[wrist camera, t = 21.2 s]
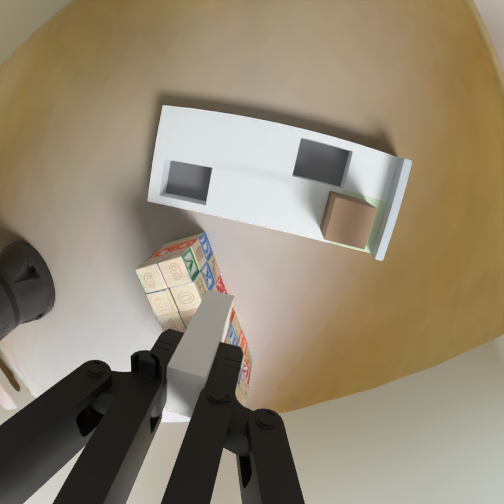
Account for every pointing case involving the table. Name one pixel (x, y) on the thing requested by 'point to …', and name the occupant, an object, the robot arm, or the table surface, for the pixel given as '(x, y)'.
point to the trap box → (270, 173)
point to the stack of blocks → (189, 292)
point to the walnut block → (347, 220)
